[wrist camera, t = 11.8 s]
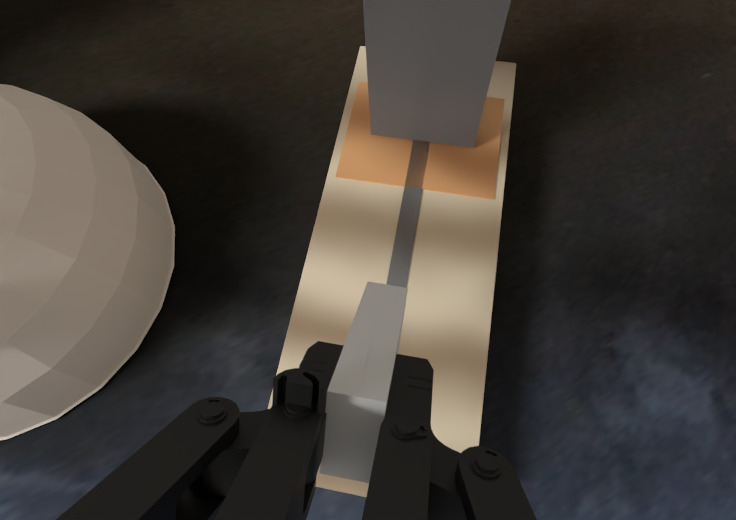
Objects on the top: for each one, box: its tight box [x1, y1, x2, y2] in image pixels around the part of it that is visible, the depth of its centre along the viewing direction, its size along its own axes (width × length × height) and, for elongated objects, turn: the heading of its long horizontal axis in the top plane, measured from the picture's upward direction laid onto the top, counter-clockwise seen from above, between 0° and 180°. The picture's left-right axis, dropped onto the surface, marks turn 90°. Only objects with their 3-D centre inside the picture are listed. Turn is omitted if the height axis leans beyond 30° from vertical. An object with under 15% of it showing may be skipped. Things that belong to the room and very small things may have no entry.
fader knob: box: [363, 0, 511, 148], centre depth 25 cm, size 4×6×11 cm, turn 79°
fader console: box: [268, 46, 516, 497], centre depth 29 cm, size 26×10×3 cm, turn 169°
